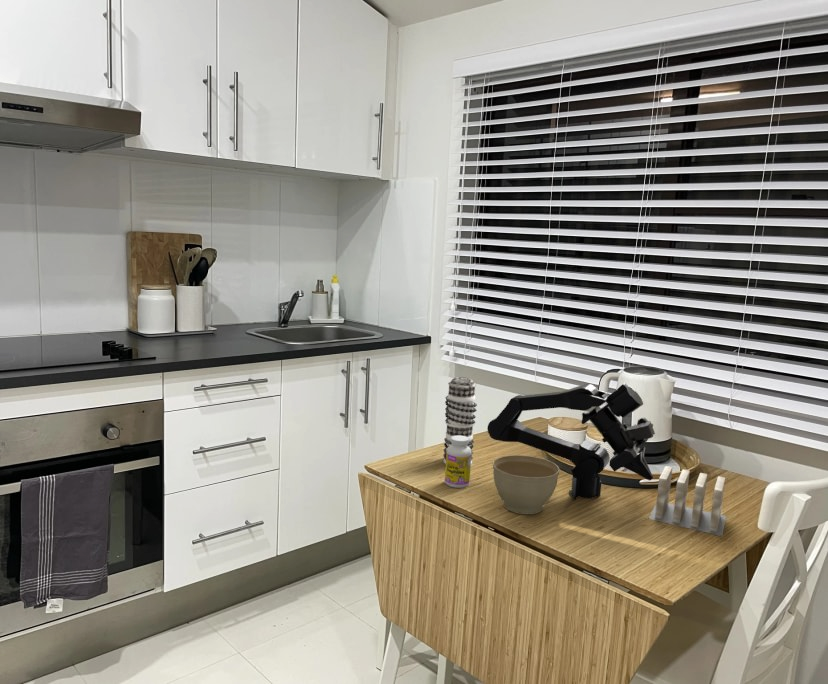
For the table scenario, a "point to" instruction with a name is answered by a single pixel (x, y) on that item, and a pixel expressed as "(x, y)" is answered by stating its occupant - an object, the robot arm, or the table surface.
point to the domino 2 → (681, 496)
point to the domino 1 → (663, 492)
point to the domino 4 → (717, 504)
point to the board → (687, 518)
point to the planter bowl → (525, 482)
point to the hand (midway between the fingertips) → (651, 479)
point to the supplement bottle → (458, 462)
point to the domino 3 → (699, 500)
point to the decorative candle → (460, 411)
